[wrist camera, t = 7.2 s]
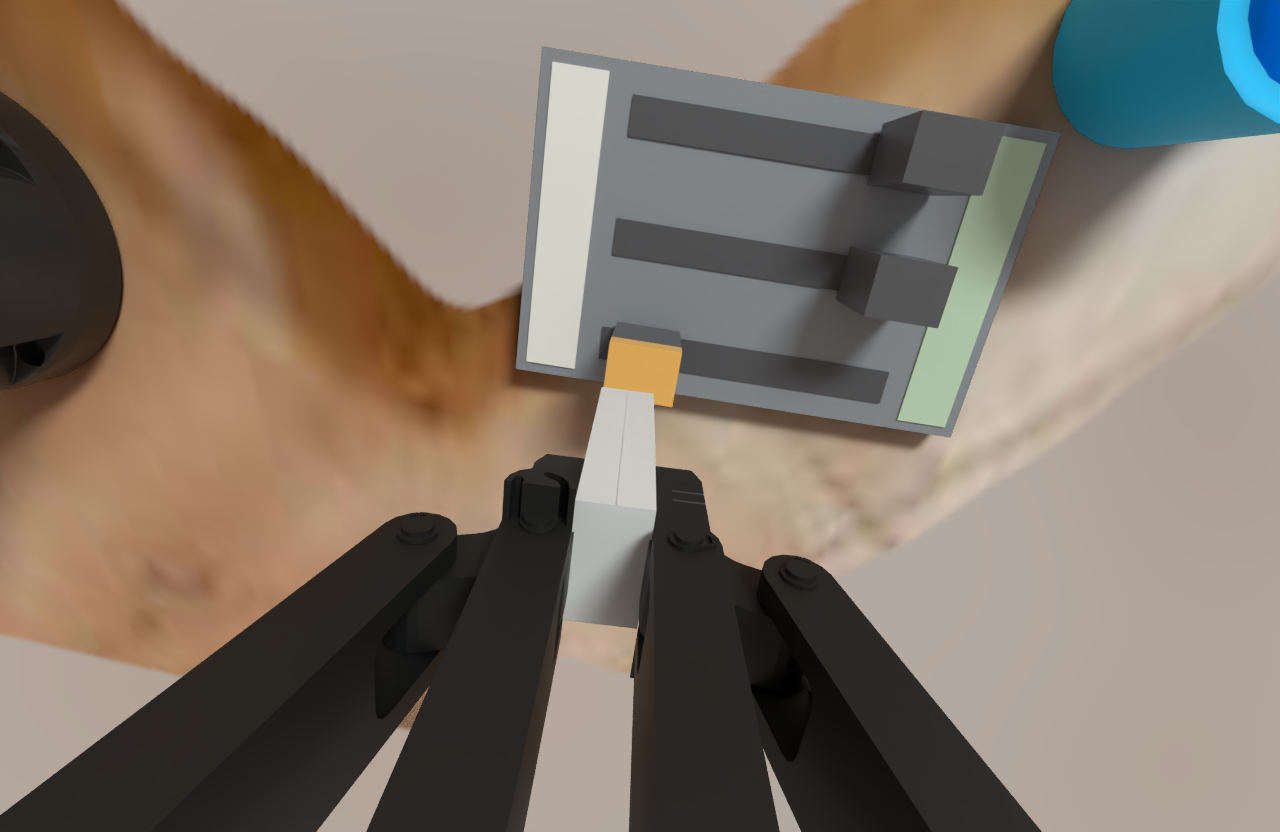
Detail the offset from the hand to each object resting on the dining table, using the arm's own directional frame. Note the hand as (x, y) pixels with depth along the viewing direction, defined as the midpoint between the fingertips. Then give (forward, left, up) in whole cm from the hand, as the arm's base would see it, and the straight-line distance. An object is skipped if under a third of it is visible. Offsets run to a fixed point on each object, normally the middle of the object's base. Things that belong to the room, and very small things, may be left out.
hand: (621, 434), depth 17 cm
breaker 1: (+10, +10, -12) cm, 19 cm away
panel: (+5, +5, -14) cm, 15 cm away
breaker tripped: (0, 0, -12) cm, 12 cm away
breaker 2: (+10, +5, -12) cm, 17 cm away
